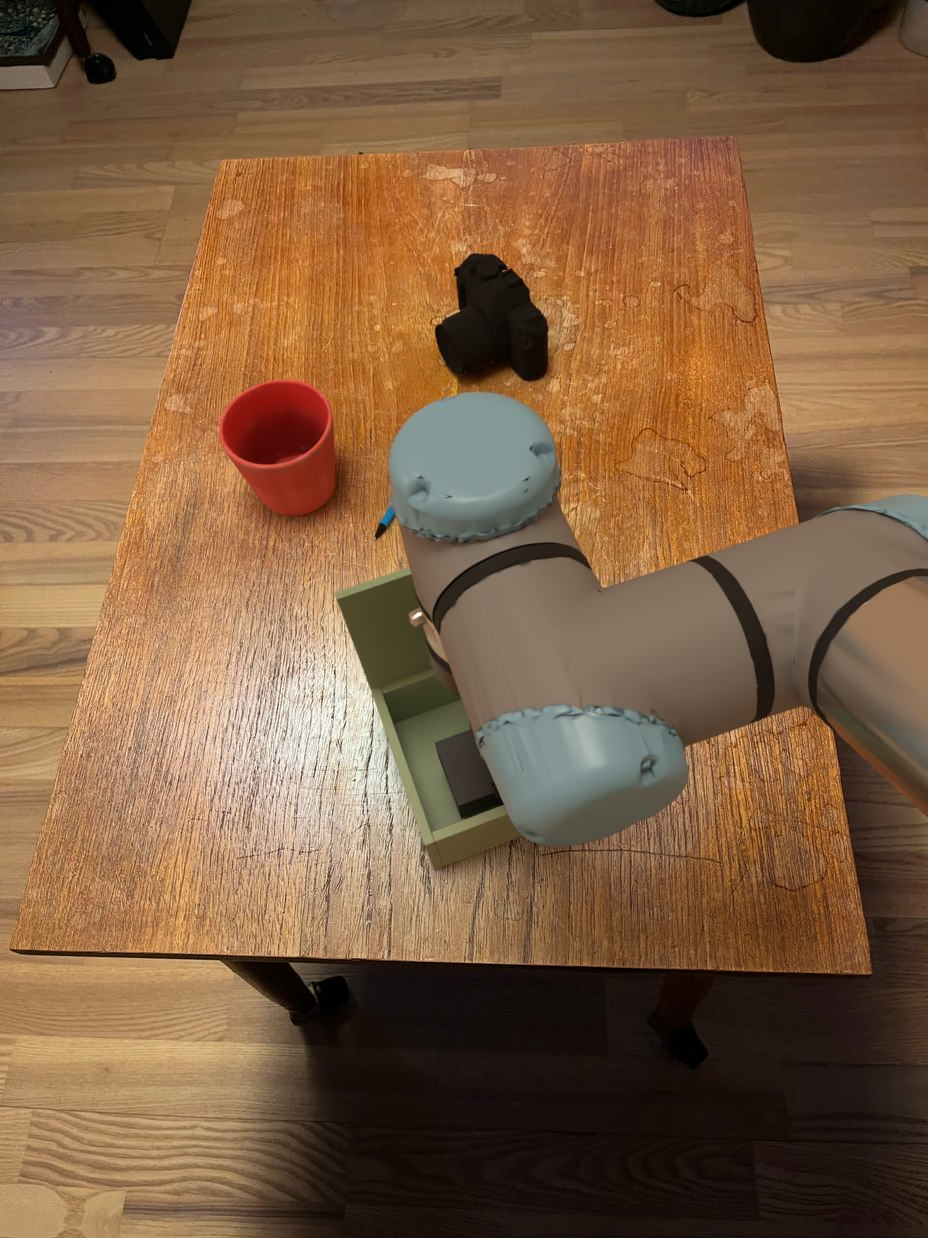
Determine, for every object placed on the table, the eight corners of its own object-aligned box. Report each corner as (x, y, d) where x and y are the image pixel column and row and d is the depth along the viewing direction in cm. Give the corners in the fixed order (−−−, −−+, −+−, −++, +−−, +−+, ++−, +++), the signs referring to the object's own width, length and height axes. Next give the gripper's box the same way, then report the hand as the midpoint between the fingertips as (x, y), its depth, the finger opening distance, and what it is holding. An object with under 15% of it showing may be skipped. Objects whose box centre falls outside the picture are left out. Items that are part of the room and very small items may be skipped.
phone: (568, 778, 71) (569, 764, 68) (461, 818, 70) (458, 806, 67) (541, 718, 74) (541, 702, 71) (438, 756, 73) (434, 742, 70)
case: (615, 800, 73) (621, 771, 67) (434, 870, 72) (424, 845, 66) (550, 662, 80) (550, 624, 74) (383, 722, 78) (370, 688, 72)
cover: (556, 523, 61) (553, 517, 61) (336, 599, 59) (334, 592, 60) (552, 625, 74) (549, 619, 74) (370, 690, 72) (368, 683, 72)
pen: (465, 407, 96) (464, 399, 95) (379, 543, 88) (377, 536, 87) (458, 405, 96) (457, 397, 95) (371, 540, 88) (369, 533, 87)
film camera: (414, 329, 102) (403, 262, 95) (487, 295, 104) (482, 227, 96) (483, 412, 95) (478, 347, 88) (560, 374, 97) (562, 307, 89)
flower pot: (368, 459, 93) (351, 392, 85) (321, 542, 88) (298, 479, 80) (278, 434, 96) (253, 366, 87) (227, 513, 91) (196, 449, 83)
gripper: (377, 520, 56) (420, 684, 76) (483, 788, 47) (500, 894, 67) (491, 482, 57) (504, 654, 77) (616, 737, 48) (593, 857, 68)
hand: (502, 765), depth 72 cm, fingers closed on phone, 5 cm apart
